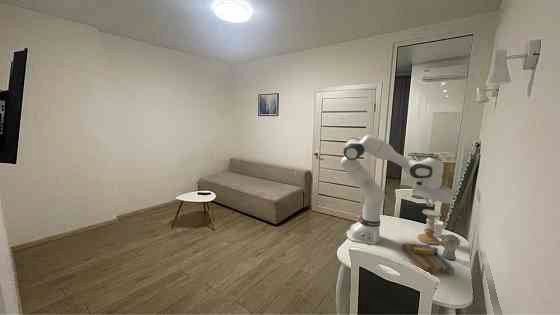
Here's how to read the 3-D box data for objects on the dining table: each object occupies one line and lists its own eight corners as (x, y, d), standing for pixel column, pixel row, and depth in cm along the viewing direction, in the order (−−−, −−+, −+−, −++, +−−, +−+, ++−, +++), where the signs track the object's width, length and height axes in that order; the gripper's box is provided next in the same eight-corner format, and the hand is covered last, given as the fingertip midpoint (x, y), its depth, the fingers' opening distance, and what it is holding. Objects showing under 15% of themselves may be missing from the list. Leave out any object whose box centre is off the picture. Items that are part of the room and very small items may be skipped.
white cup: (442, 239, 148) (444, 225, 146) (428, 235, 152) (430, 222, 150) (441, 234, 154) (442, 221, 153) (428, 231, 158) (429, 218, 157)
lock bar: (435, 252, 125) (436, 247, 124) (438, 255, 122) (439, 250, 122) (412, 250, 126) (412, 245, 126) (414, 253, 123) (415, 248, 123)
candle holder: (443, 246, 139) (447, 217, 136) (422, 244, 141) (425, 215, 138) (433, 236, 151) (437, 209, 148) (414, 234, 153) (417, 208, 150)
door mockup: (421, 273, 114) (422, 262, 113) (402, 249, 135) (402, 239, 134) (453, 275, 112) (455, 264, 111) (428, 250, 134) (429, 241, 133)
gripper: (455, 187, 121) (452, 210, 124) (416, 179, 138) (414, 200, 140) (451, 189, 118) (448, 213, 120) (412, 181, 135) (409, 201, 137)
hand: (429, 206), depth 130 cm, fingers closed
